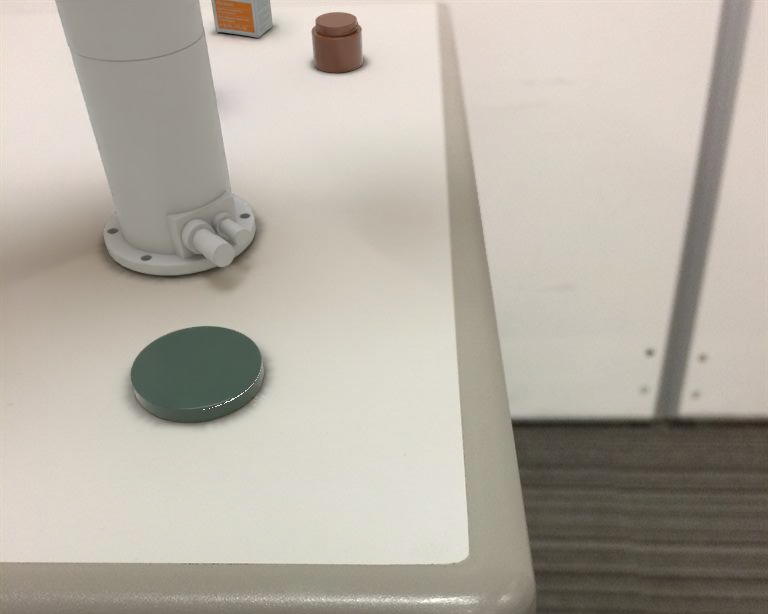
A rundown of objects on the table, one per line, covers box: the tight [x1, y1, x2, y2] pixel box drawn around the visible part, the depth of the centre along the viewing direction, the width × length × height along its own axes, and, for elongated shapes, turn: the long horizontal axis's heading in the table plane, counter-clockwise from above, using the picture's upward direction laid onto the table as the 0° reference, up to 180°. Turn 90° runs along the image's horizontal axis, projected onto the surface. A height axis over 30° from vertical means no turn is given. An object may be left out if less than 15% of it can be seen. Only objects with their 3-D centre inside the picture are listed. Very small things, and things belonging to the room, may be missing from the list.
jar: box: [311, 11, 364, 74], centre depth 92 cm, size 6×6×4 cm
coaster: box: [129, 325, 265, 423], centre depth 57 cm, size 9×9×1 cm
